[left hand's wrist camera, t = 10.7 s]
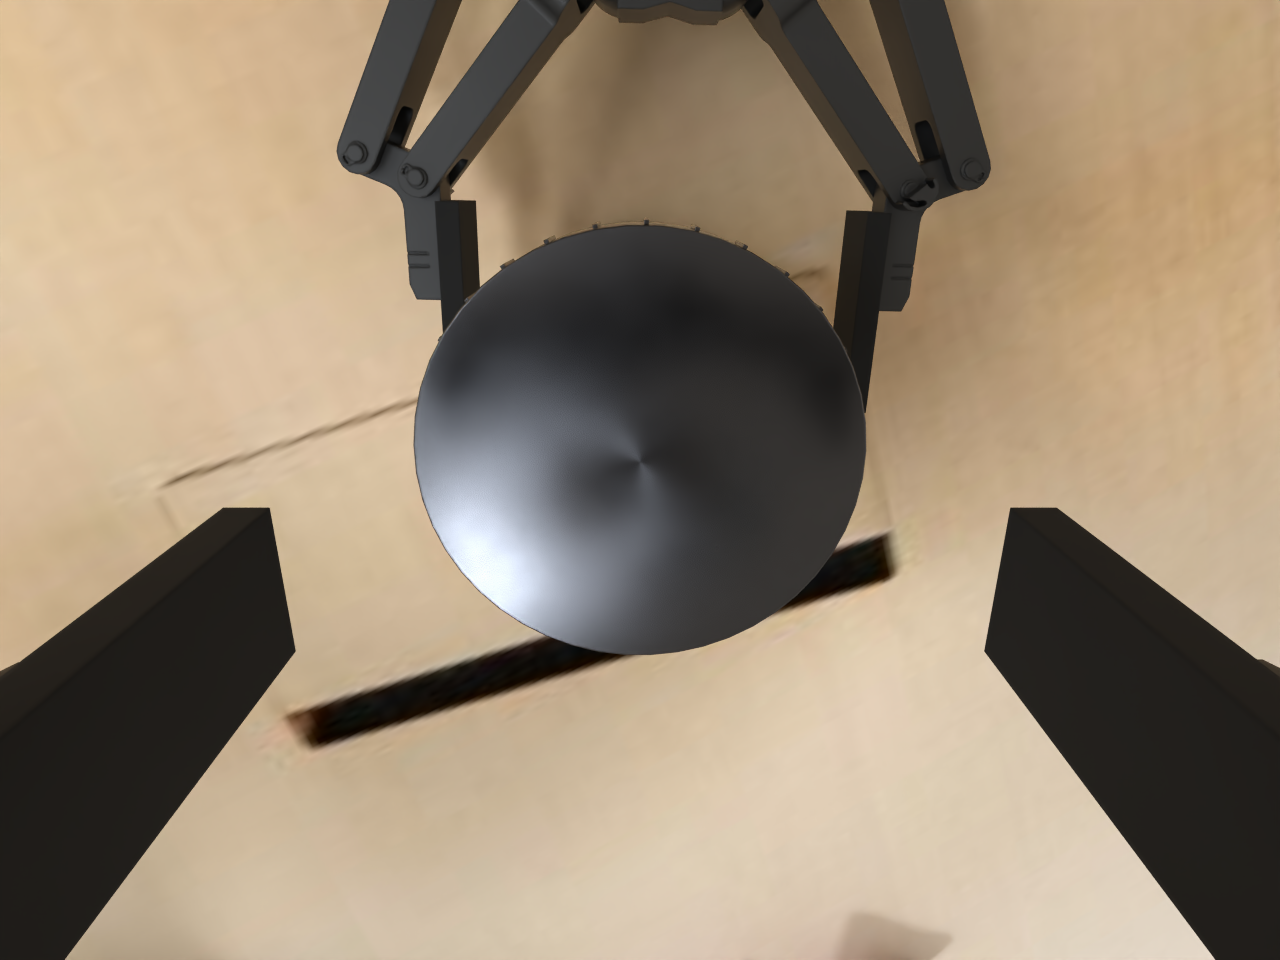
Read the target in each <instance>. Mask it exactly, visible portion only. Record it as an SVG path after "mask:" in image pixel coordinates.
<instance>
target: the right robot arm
mask: <svg viewBox="0 0 1280 960" xmlns="http://www.w3.org/2000/svg"><path fill="white" fill-rule="evenodd" d="M461 1H462V0H389V3H388V6H387V9H386V12H385V14H384V17H383V20H382V23H381V25H380V28H379V31H378V34H377V36H376V39H375V42H374V45H373V48H372V50H371V53H370V56H369V59H368V61H367V64H366V67H365V70H364V72H363V75H362V78H361V81H360V84H359V86H358V89H357V92H356V95H355V97H354V100H353V103H352V106H351V108H350V111H349V114H348V117H347V119H346V122H345V125H344V128H343V131H342V133H341V136H340V139H339V142H338V146H337V155H338V159H339V161H340V163H341V164H342V166H343V167H344V168H345V169H347V170H348V171H349V172H352V173H355V174H361V175H363V176H366V177H368V178H370V179H373V180H375V181H378V182H380V183H383V184H385V185H387V186H389V187H391V188H392V189H393V190H394V191H396V192H397V194H398V195H399V197H400V198H401V201H402V203H403V207H404V216H405V229H406V242H407V252H408V264H409V280H410V285H411V288H412V290H413V292H414V294H415V296H416V298H417V299H422V300H441V309H442V325H443V333H444V331H445V330H446V328H447V327H448V326H449V324H450V323H451V321H452V320H453V318H454V317H455V316H456V314H457V313H458V311H459V310H460V308H461V307H462V306H463V305H464V304H465V303H466V302H465V301H464V300H465V299H466V298H467V297H469V296H470V295H472V294H473V293H475V292H476V291H477V290H478V289H479V288H480V281H479V260H478V238H477V217H476V201H468V200H451V194H452V193H453V192H454V190H453V189H452V187H453V186H454V185H455V183H456V182H457V181H458V179H459V178H460V177H461V175H462V174H463V173H464V171H465V170H466V169H467V167H468V166H469V165H470V163H471V162H472V161H473V159H474V158H475V157H476V155H477V154H478V153H479V152H480V150H481V149H482V148H483V146H484V145H485V144H486V142H487V141H488V140H489V138H490V137H491V136H492V134H493V133H494V132H495V130H496V129H497V128H498V126H499V125H500V124H501V122H502V121H503V120H504V118H505V117H506V116H507V114H508V113H509V112H510V110H511V109H512V108H513V106H514V105H515V104H516V102H517V101H518V100H519V98H520V97H521V96H522V94H523V93H524V92H525V90H526V89H527V88H528V86H529V85H530V84H531V82H532V81H533V80H534V79H535V77H536V76H537V75H538V73H539V72H540V71H541V69H542V68H543V67H544V65H545V64H546V63H547V61H548V60H549V59H550V57H551V56H552V55H553V53H554V52H555V51H556V49H557V48H558V47H559V45H560V44H561V43H562V41H563V40H564V39H565V38H566V37H568V36H569V35H570V34H571V33H572V32H573V31H574V30H575V29H576V27H577V26H578V25H579V24H580V22H581V21H582V20H583V18H584V17H585V16H586V14H587V13H588V12H589V10H590V9H591V8H592V6H593V5H594V4H595V3H596V4H597V5H598V6H599V7H600V8H601V9H602V10H604V11H605V12H606V13H608V14H610V15H612V16H614V17H617V18H619V22H620V23H645V22H649V21H652V20H656V19H660V18H663V17H672V18H675V19H678V20H681V21H684V22H687V23H689V24H692V25H717V23H718V21H719V20H723V19H725V18H727V17H730V16H731V15H733V14H735V13H736V12H737V11H738V10H740V9H742V10H743V12H744V13H745V15H746V16H747V18H748V19H749V21H750V23H751V24H752V26H753V27H754V29H755V30H756V32H757V33H758V34H759V36H760V37H761V38H762V39H763V40H764V41H765V42H766V43H768V44H769V45H770V47H771V48H772V50H773V51H774V53H775V54H776V56H777V57H778V59H779V60H780V62H781V63H782V65H783V66H784V68H785V69H786V71H787V72H788V74H789V75H790V77H791V78H792V80H793V81H794V83H795V84H796V86H797V88H798V89H799V91H800V92H801V94H802V95H803V97H804V98H805V100H806V101H807V103H808V104H809V106H810V107H811V109H812V110H813V112H814V113H815V115H816V116H817V118H818V119H819V121H820V122H821V124H822V125H823V127H824V129H825V130H826V132H827V133H828V135H829V136H830V138H831V139H832V141H833V142H834V144H835V145H836V147H837V148H838V150H839V151H840V153H841V154H842V156H843V157H844V159H845V160H846V162H847V163H848V165H849V167H850V168H851V170H852V171H853V173H854V174H855V176H856V177H857V179H858V180H859V182H860V183H861V185H862V186H863V188H864V189H865V191H866V192H867V194H868V195H869V197H870V198H871V200H872V201H873V207H872V211H846V220H845V229H844V237H843V246H842V255H841V264H840V273H839V282H838V291H837V300H836V309H835V318H834V327H833V329H834V330H835V332H836V333H837V335H838V336H839V338H840V340H841V342H842V344H843V346H844V347H845V348H846V349H847V355H848V357H849V359H850V361H851V363H852V365H853V368H854V371H855V375H856V378H857V381H858V385H859V388H860V391H861V395H862V401H863V408H864V413H866V406H867V398H868V390H869V383H870V375H871V368H872V360H873V352H874V345H875V337H876V330H877V322H878V314H879V311H902V309H903V307H904V305H905V303H906V302H907V300H908V298H909V295H910V288H911V281H912V280H911V278H912V274H913V265H914V260H915V253H916V246H917V239H918V232H919V225H920V221H921V217H922V215H923V213H924V211H925V210H926V209H927V208H928V207H930V206H931V205H932V204H933V203H934V202H935V201H937V200H939V199H942V198H945V197H948V196H951V195H954V194H957V193H959V192H962V191H965V190H973V189H977V188H978V187H980V186H981V185H983V184H984V182H985V181H986V180H987V178H988V177H989V173H990V170H991V166H990V159H989V155H988V152H987V148H986V145H985V141H984V138H983V134H982V131H981V127H980V124H979V120H978V117H977V113H976V110H975V106H974V103H973V99H972V96H971V92H970V89H969V85H968V82H967V78H966V75H965V71H964V68H963V64H962V61H961V58H960V54H959V51H958V47H957V44H956V40H955V37H954V33H953V30H952V26H951V23H950V19H949V16H948V12H947V9H946V5H945V2H944V0H869V1H870V4H871V7H872V10H873V13H874V17H875V20H876V23H877V26H878V29H879V32H880V36H881V39H882V42H883V45H884V48H885V51H886V55H887V58H888V61H889V64H890V67H891V70H892V74H893V77H894V80H895V83H896V86H897V89H898V93H899V96H900V99H901V102H902V105H903V108H904V112H905V115H906V118H907V121H908V124H909V127H910V131H911V134H912V137H913V140H914V143H915V146H916V150H917V153H918V156H919V159H920V162H917V160H916V159H915V157H914V156H913V154H912V152H911V151H910V149H909V148H908V146H907V144H906V143H905V141H904V140H903V138H902V136H901V135H900V133H899V132H898V130H897V129H896V127H895V125H894V124H893V122H892V121H891V119H890V117H889V116H888V114H887V113H886V111H885V109H884V108H883V106H882V105H881V103H880V101H879V100H878V98H877V97H876V95H875V94H874V92H873V90H872V89H871V87H870V86H869V84H868V82H867V81H866V79H865V78H864V76H863V74H862V73H861V71H860V70H859V68H858V66H857V65H856V63H855V62H854V60H853V59H852V57H851V55H850V54H849V52H848V51H847V49H846V47H845V46H844V44H843V43H842V41H841V39H840V38H839V36H838V35H837V33H836V31H835V30H834V28H833V27H832V25H831V23H830V22H829V20H828V19H827V17H826V16H825V14H824V12H823V11H822V9H821V8H820V6H819V4H818V2H817V0H519V1H518V2H517V4H516V5H515V6H514V8H513V9H512V10H511V12H510V13H509V15H508V16H507V17H506V19H505V20H504V21H503V23H502V24H501V26H500V27H499V28H498V30H497V31H496V33H495V34H494V35H493V37H492V38H491V39H490V41H489V42H488V44H487V45H486V46H485V48H484V49H483V50H482V52H481V53H480V55H479V56H478V57H477V59H476V60H475V62H474V63H473V64H472V66H471V67H470V68H469V70H468V71H467V73H466V74H465V75H464V77H463V78H462V79H461V81H460V82H459V84H458V85H457V86H456V88H455V89H454V91H453V92H452V93H451V95H450V96H449V97H448V99H447V100H446V102H445V103H444V104H443V106H442V107H441V108H440V110H439V111H438V113H437V114H436V115H435V117H434V118H433V120H432V121H431V122H430V124H429V125H428V126H427V128H426V129H425V131H424V132H423V133H422V135H421V136H420V137H419V139H418V140H417V142H416V143H415V144H414V146H413V147H412V149H411V150H410V149H408V148H405V145H406V142H407V140H408V137H409V135H410V132H411V130H412V127H413V124H414V122H415V119H416V117H417V114H418V112H419V109H420V106H421V104H422V101H423V99H424V96H425V94H426V91H427V88H428V86H429V83H430V81H431V78H432V76H433V73H434V70H435V68H436V65H437V63H438V60H439V58H440V55H441V53H442V50H443V47H444V45H445V42H446V40H447V37H448V35H449V32H450V29H451V27H452V24H453V22H454V19H455V17H456V14H457V11H458V9H459V6H460V4H461Z"/></svg>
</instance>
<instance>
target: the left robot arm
mask: <svg viewBox="0 0 1280 960" xmlns="http://www.w3.org/2000/svg"><path fill="white" fill-rule="evenodd" d="M295 651H296V650H295V645H294V639H293V634H292V628H291V623H290V617H289V612H288V606H287V601H286V595H285V590H284V584H283V579H282V573H281V568H280V562H279V557H278V551H277V546H276V540H275V535H274V529H273V524H272V518H271V513H270V508H222V509H221V510H220V511H218V512H217V513H216V514H214V515H213V516H212V517H210V518H209V519H208V520H206V521H205V522H204V523H202V524H201V525H200V526H198V527H197V528H196V529H195V530H193V531H192V532H191V533H189V534H188V535H187V536H185V537H184V538H183V539H181V540H180V541H179V542H177V543H176V544H175V545H173V546H172V547H171V548H169V549H168V550H167V551H166V552H164V553H163V554H162V555H160V556H159V557H158V558H156V559H155V560H154V561H152V562H151V563H150V564H148V565H147V566H146V567H144V568H143V569H142V570H140V571H139V572H138V573H137V574H135V575H134V576H133V577H131V578H130V579H129V580H127V581H126V582H125V583H123V584H122V585H121V586H119V587H118V588H117V589H115V590H114V591H113V592H112V593H110V594H109V595H108V596H106V597H105V598H104V599H102V600H101V601H100V602H98V603H97V604H96V605H94V606H93V607H92V608H90V609H89V610H88V611H86V612H85V613H84V614H83V615H81V616H80V617H79V618H77V619H76V620H75V621H73V622H72V623H71V624H69V625H68V626H67V627H65V628H64V629H63V630H61V631H60V632H59V633H57V634H56V635H55V636H54V637H52V638H51V639H50V640H48V641H47V642H46V643H44V644H43V645H42V646H40V647H39V648H38V649H36V650H35V651H34V652H32V653H31V654H30V655H28V656H27V657H26V658H25V659H23V660H22V661H21V662H18V663H16V664H14V665H12V666H10V667H8V668H6V669H4V670H2V671H0V960H65V958H66V957H67V956H68V954H69V953H70V952H71V950H72V949H73V948H74V946H75V945H76V944H77V942H78V941H79V940H80V938H81V937H82V936H83V934H84V933H85V932H86V930H87V929H88V928H89V926H90V925H91V924H92V922H93V921H94V920H95V918H96V917H97V916H98V914H99V913H100V912H101V910H102V909H103V908H104V906H105V905H106V904H107V902H108V901H109V900H110V898H111V897H112V896H113V894H114V893H115V892H116V890H117V889H118V888H119V886H120V885H121V884H122V882H123V881H124V880H125V878H126V877H127V876H128V874H129V873H130V872H131V870H132V869H133V868H134V866H135V865H136V864H137V862H138V861H139V860H140V858H141V857H142V856H143V854H144V853H145V852H146V850H147V849H148V848H149V846H150V845H151V844H152V842H153V841H154V840H155V838H156V837H157V836H158V834H159V833H160V832H161V830H162V829H163V828H164V826H165V825H166V824H167V822H168V821H169V820H170V818H171V817H172V816H173V814H174V813H175V812H176V810H177V809H178V808H179V806H180V805H181V804H182V802H183V801H184V800H185V798H186V797H187V796H188V794H189V793H190V792H191V790H192V789H193V788H194V786H195V785H196V784H197V782H198V781H199V780H200V778H201V777H202V776H203V774H204V773H205V772H206V770H207V769H208V768H209V766H210V765H211V764H212V762H213V761H214V760H215V758H216V757H217V756H218V754H219V753H220V752H221V750H222V749H223V748H224V746H225V745H226V744H227V742H228V741H229V740H230V738H231V737H232V736H233V734H234V733H235V732H236V730H237V729H238V728H239V726H240V725H241V723H242V722H243V721H244V719H245V718H246V717H247V715H248V714H249V713H250V711H251V710H252V709H253V707H254V706H255V705H256V703H257V702H258V701H259V699H260V698H261V697H262V695H263V694H264V693H265V691H266V690H267V689H268V687H269V686H270V685H271V683H272V682H273V681H274V679H275V678H276V677H277V675H278V674H279V673H280V671H281V670H282V669H283V667H284V666H285V665H286V663H287V662H288V661H289V659H290V658H291V657H292V655H293V654H294V653H295ZM984 651H985V653H986V654H987V655H988V657H989V658H990V659H991V661H992V662H993V663H994V665H995V666H996V667H997V669H998V670H999V671H1000V673H1001V674H1002V675H1003V677H1004V678H1005V679H1006V681H1007V682H1008V683H1009V685H1010V686H1011V687H1012V689H1013V690H1014V691H1015V693H1016V694H1017V695H1018V697H1019V698H1020V699H1021V701H1022V702H1023V703H1024V705H1025V706H1026V707H1027V709H1028V710H1029V711H1030V713H1031V714H1032V715H1033V717H1034V718H1035V719H1036V721H1037V722H1038V723H1039V725H1040V726H1041V728H1042V729H1043V730H1044V732H1045V733H1046V734H1047V736H1048V737H1049V738H1050V740H1051V741H1052V742H1053V744H1054V745H1055V746H1056V748H1057V749H1058V750H1059V752H1060V753H1061V754H1062V756H1063V757H1064V758H1065V760H1066V761H1067V762H1068V764H1069V765H1070V766H1071V768H1072V769H1073V770H1074V772H1075V773H1076V774H1077V776H1078V777H1079V778H1080V780H1081V781H1082V782H1083V784H1084V785H1085V786H1086V788H1087V789H1088V790H1089V792H1090V793H1091V794H1092V796H1093V797H1094V798H1095V800H1096V801H1097V802H1098V804H1099V805H1100V806H1101V808H1102V809H1103V810H1104V812H1105V813H1106V814H1107V816H1108V817H1109V818H1110V820H1111V821H1112V822H1113V824H1114V825H1115V826H1116V828H1117V829H1118V830H1119V832H1120V833H1121V834H1122V836H1123V837H1124V838H1125V840H1126V841H1127V842H1128V844H1129V845H1130V846H1131V848H1132V849H1133V850H1134V852H1135V853H1136V854H1137V856H1138V857H1139V858H1140V860H1141V861H1142V862H1143V864H1144V865H1145V866H1146V868H1147V869H1148V870H1149V872H1150V873H1151V874H1152V876H1153V877H1154V878H1155V880H1156V881H1157V882H1158V884H1159V885H1160V886H1161V888H1162V889H1163V890H1164V892H1165V893H1166V894H1167V896H1168V897H1169V898H1170V900H1171V901H1172V902H1173V904H1174V905H1175V906H1176V908H1177V909H1178V910H1179V912H1180V913H1181V914H1182V916H1183V917H1184V918H1185V920H1186V921H1187V922H1188V924H1189V925H1190V926H1191V928H1192V929H1193V930H1194V932H1195V933H1196V934H1197V936H1198V937H1199V938H1200V940H1201V941H1202V942H1203V944H1204V945H1205V946H1206V948H1207V949H1208V950H1209V952H1210V953H1211V954H1212V956H1213V957H1214V958H1215V960H1280V668H1279V667H1277V666H1275V665H1273V664H1271V663H1269V662H1267V661H1264V660H1257V659H1255V658H1254V657H1253V656H1252V655H1250V654H1249V653H1248V652H1246V651H1245V650H1244V649H1242V648H1241V647H1240V646H1238V645H1237V644H1236V643H1234V642H1233V641H1232V640H1230V639H1229V638H1228V637H1226V636H1225V635H1224V634H1223V633H1221V632H1220V631H1219V630H1217V629H1216V628H1215V627H1213V626H1212V625H1211V624H1209V623H1208V622H1207V621H1205V620H1204V619H1203V618H1201V617H1200V616H1199V615H1197V614H1196V613H1195V612H1194V611H1192V610H1191V609H1190V608H1188V607H1187V606H1186V605H1184V604H1183V603H1182V602H1180V601H1179V600H1178V599H1176V598H1175V597H1174V596H1172V595H1171V594H1170V593H1168V592H1167V591H1166V590H1165V589H1163V588H1162V587H1161V586H1159V585H1158V584H1157V583H1155V582H1154V581H1153V580H1151V579H1150V578H1149V577H1147V576H1146V575H1145V574H1143V573H1142V572H1141V571H1140V570H1138V569H1137V568H1136V567H1134V566H1133V565H1132V564H1130V563H1129V562H1128V561H1126V560H1125V559H1124V558H1122V557H1121V556H1120V555H1118V554H1117V553H1116V552H1114V551H1113V550H1112V549H1111V548H1109V547H1108V546H1107V545H1105V544H1104V543H1103V542H1101V541H1100V540H1099V539H1097V538H1096V537H1095V536H1093V535H1092V534H1091V533H1089V532H1088V531H1087V530H1085V529H1084V528H1083V527H1082V526H1080V525H1079V524H1078V523H1076V522H1075V521H1074V520H1072V519H1071V518H1070V517H1068V516H1067V515H1066V514H1064V513H1063V512H1062V511H1060V510H1059V509H1058V508H1010V513H1009V518H1008V524H1007V529H1006V535H1005V540H1004V546H1003V551H1002V557H1001V562H1000V568H999V573H998V579H997V584H996V590H995V595H994V601H993V606H992V612H991V617H990V623H989V628H988V634H987V639H986V645H985V650H984Z"/></svg>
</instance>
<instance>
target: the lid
mask: <svg viewBox="0 0 1280 960" xmlns="http://www.w3.org/2000/svg"><path fill="white" fill-rule="evenodd" d="M544 243H545V244H543V245H541V246H539V247H538V248H536V249H534V250H532V251H531V252H529V253H527V254H526V255H524V256H522V257H521V258H519V259H517V260H516V261H515V260H514V259H512V260H510V261H508V262H506V263H504V264H503V265H501V266H500V267H501V269H502V270H501V271H499V272H498V273H497V274H496V275H494V276H493V277H492V278H491V279H490V280H488V281H487V282H486V283H485V284H483V285H482V286H481V287H480V288H479V289H478V290H477V291H476V292H475V293H473V294H472V295H470V296H469V297H467V298H466V299H465V300H464V301H465V302H466V303H465V304H464V305H463V306H462V307H461V308H460V310H459V311H458V313H457V314H456V316H455V317H454V318H453V320H452V321H451V323H450V324H449V326H448V327H447V328H446V330H445V331H444V333H443V334H442V336H440V337H439V339H438V341H439V342H438V344H437V346H436V348H435V350H434V352H433V354H432V356H431V358H430V360H429V363H428V366H427V369H426V372H425V375H424V378H423V381H422V384H421V387H420V391H419V397H418V402H417V407H416V413H415V424H414V455H415V465H416V474H417V478H418V483H419V487H420V491H421V495H422V500H423V502H424V505H425V508H426V510H427V513H428V516H429V518H430V521H431V523H432V526H433V528H434V530H435V531H436V533H437V535H438V537H439V539H440V541H441V543H442V544H443V546H444V548H445V550H446V551H447V553H448V554H449V556H450V557H451V558H452V560H453V561H454V563H455V564H456V565H457V567H458V568H459V570H460V571H461V572H462V573H463V574H464V575H465V577H466V578H467V579H468V580H469V581H470V582H471V583H472V584H473V585H474V586H475V587H476V588H477V590H478V591H479V592H480V593H482V594H483V595H484V596H485V597H486V598H488V599H489V600H490V601H491V602H492V603H493V604H495V605H496V606H497V607H498V608H499V609H501V610H502V611H504V612H505V613H507V614H508V615H510V616H511V617H513V618H514V619H516V620H517V621H519V622H520V623H522V624H524V625H526V626H528V627H530V628H532V629H534V630H536V631H538V632H540V633H542V634H544V635H546V636H548V637H551V638H554V639H556V640H559V641H562V642H565V643H567V644H570V645H574V646H578V647H582V648H586V649H590V650H594V651H599V652H607V653H616V654H624V655H654V654H664V653H674V652H680V651H685V650H690V649H694V648H699V647H703V646H706V645H709V644H712V643H715V642H718V641H721V640H724V639H727V638H730V637H732V636H734V635H736V634H738V633H740V632H742V631H744V630H746V629H749V628H751V627H753V626H754V625H756V624H758V623H759V622H761V621H762V620H764V619H766V618H767V617H769V616H770V615H772V614H774V613H775V612H777V611H778V610H779V609H780V608H781V607H783V606H784V605H785V604H786V603H788V602H789V601H790V600H791V599H793V598H794V597H795V596H796V595H797V594H798V593H799V592H800V591H801V590H802V589H803V588H804V587H805V586H806V585H807V584H808V583H809V582H810V581H811V580H812V579H813V578H814V577H815V576H816V575H817V573H818V572H819V571H820V569H821V568H822V567H823V565H824V564H825V563H826V561H827V560H828V559H829V557H830V556H831V555H832V553H833V551H834V550H835V548H836V546H837V544H838V543H839V541H840V539H841V537H842V536H843V534H844V532H845V530H846V528H847V525H848V523H849V520H850V518H851V516H852V513H853V511H854V508H855V506H856V502H857V499H858V495H859V491H860V487H861V483H862V480H863V473H864V465H865V457H866V420H865V414H864V408H863V401H862V395H861V391H860V388H859V385H858V381H857V378H856V375H855V371H854V368H853V365H852V363H851V361H850V359H849V357H848V355H847V349H846V348H845V347H844V346H843V344H842V342H841V340H840V338H839V336H838V335H837V333H836V332H835V330H834V329H833V327H832V326H831V324H830V323H829V321H828V320H827V318H826V317H825V315H824V313H823V312H822V311H823V309H822V308H821V307H820V306H819V305H817V304H816V303H814V302H813V301H812V300H811V299H810V298H809V296H808V295H807V294H806V293H805V292H804V291H803V290H802V289H801V288H800V287H799V286H797V285H796V284H795V283H794V282H793V281H792V280H790V279H789V278H788V276H789V275H790V274H789V273H788V272H786V271H784V270H783V269H781V268H779V267H777V266H775V267H774V266H772V265H771V264H769V263H768V262H766V261H764V260H763V259H761V258H760V257H758V256H757V255H755V254H753V253H752V252H750V251H748V250H746V249H747V247H748V246H747V245H745V244H743V243H741V242H739V241H737V240H736V242H735V244H734V243H732V242H730V241H728V240H725V239H723V238H721V237H719V236H717V235H714V234H711V233H707V232H704V231H701V230H700V227H698V226H696V225H694V224H691V227H687V226H681V225H674V224H668V223H661V222H649V219H648V218H644V222H621V223H613V224H605V225H601V223H600V222H596V223H595V224H593V227H590V228H587V229H583V230H579V231H575V232H572V233H569V234H567V235H564V236H562V237H559V238H557V239H556V238H555V236H552V237H550V238H548V239H546V240H544Z"/></svg>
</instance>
